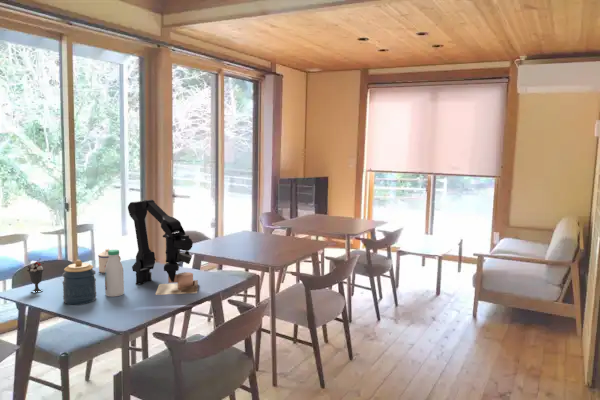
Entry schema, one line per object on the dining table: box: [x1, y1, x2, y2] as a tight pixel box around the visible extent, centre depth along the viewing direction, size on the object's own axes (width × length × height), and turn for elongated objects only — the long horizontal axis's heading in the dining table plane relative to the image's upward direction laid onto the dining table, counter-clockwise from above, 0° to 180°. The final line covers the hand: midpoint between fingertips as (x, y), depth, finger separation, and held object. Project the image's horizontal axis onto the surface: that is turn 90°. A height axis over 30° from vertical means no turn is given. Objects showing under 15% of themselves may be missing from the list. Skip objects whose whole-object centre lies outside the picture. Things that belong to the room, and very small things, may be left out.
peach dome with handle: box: [167, 271, 194, 290], centre depth 220 cm, size 11×7×6 cm, turn 100°
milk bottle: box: [104, 249, 125, 298], centre depth 212 cm, size 8×8×20 cm
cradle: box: [155, 279, 199, 296], centre depth 220 cm, size 18×16×3 cm
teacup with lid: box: [97, 248, 122, 274], centre depth 252 cm, size 12×9×12 cm
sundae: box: [26, 259, 45, 292], centre depth 215 cm, size 7×7×15 cm
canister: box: [62, 259, 97, 306], centre depth 204 cm, size 13×13×18 cm
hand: (173, 281), depth 220 cm, fingers closed on peach dome with handle
